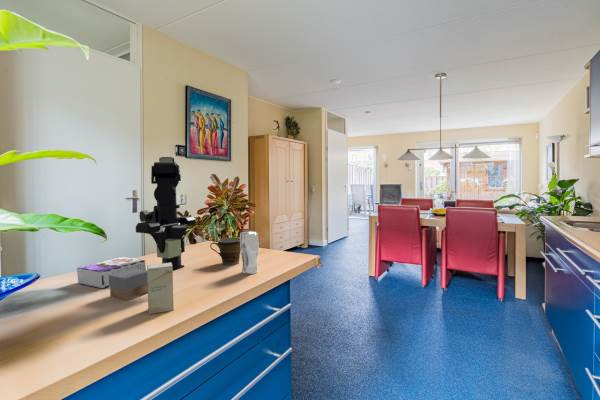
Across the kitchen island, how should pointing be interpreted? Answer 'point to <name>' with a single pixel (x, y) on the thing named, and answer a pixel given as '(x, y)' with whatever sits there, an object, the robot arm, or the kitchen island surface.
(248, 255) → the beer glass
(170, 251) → the olive cube
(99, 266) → the candy box
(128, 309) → the kitchen island surface
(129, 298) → the walnut block
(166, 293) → the skincare box
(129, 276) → the charcoal block
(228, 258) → the ceramic cup
